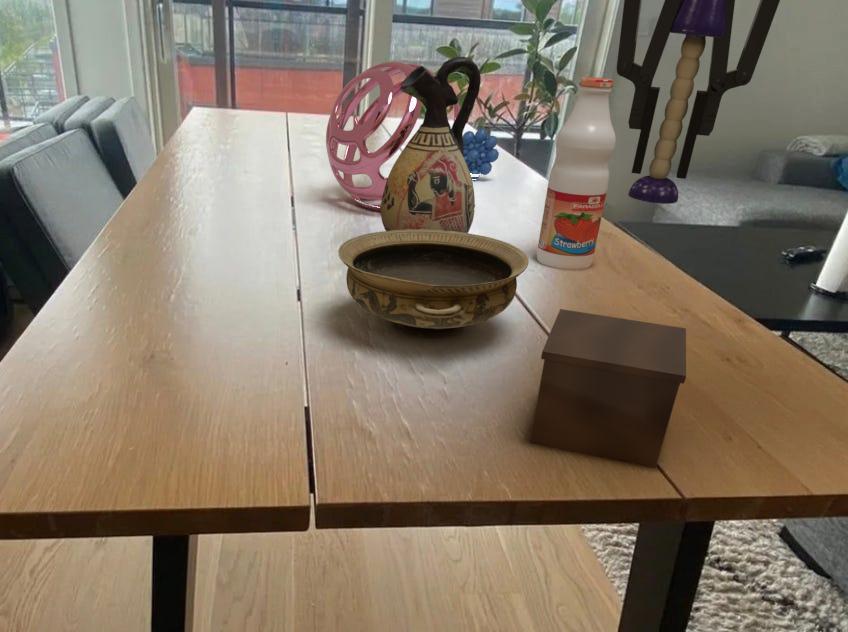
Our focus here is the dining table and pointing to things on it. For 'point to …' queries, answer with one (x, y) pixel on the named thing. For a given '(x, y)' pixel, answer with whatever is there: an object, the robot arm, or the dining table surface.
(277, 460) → the dining table surface
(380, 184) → the spiral basket
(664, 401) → the brown wooden box
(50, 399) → the dining table surface
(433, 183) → the ceramic jug
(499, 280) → the ceramic bowl
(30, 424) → the dining table surface
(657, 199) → the toy lamp
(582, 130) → the fruit juice
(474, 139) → the grapes
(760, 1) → the robot arm
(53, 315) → the dining table surface
